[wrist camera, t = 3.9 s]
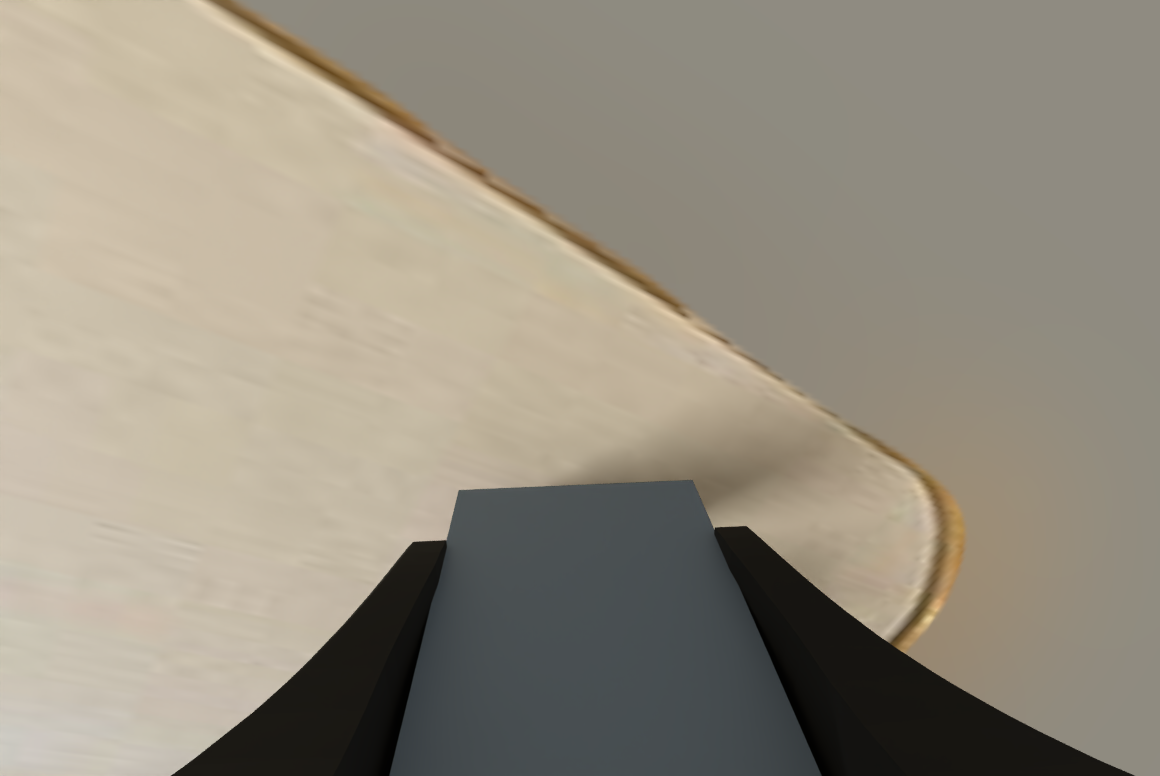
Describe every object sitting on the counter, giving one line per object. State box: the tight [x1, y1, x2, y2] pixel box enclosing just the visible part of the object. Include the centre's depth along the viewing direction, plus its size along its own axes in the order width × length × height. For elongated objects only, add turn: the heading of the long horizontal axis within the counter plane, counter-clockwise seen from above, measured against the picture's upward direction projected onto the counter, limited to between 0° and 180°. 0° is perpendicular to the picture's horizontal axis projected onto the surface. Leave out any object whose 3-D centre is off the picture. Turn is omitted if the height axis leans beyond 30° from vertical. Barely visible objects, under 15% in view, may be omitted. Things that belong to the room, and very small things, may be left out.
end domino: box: [389, 480, 822, 776], centre depth 10 cm, size 2×5×7 cm, turn 91°
